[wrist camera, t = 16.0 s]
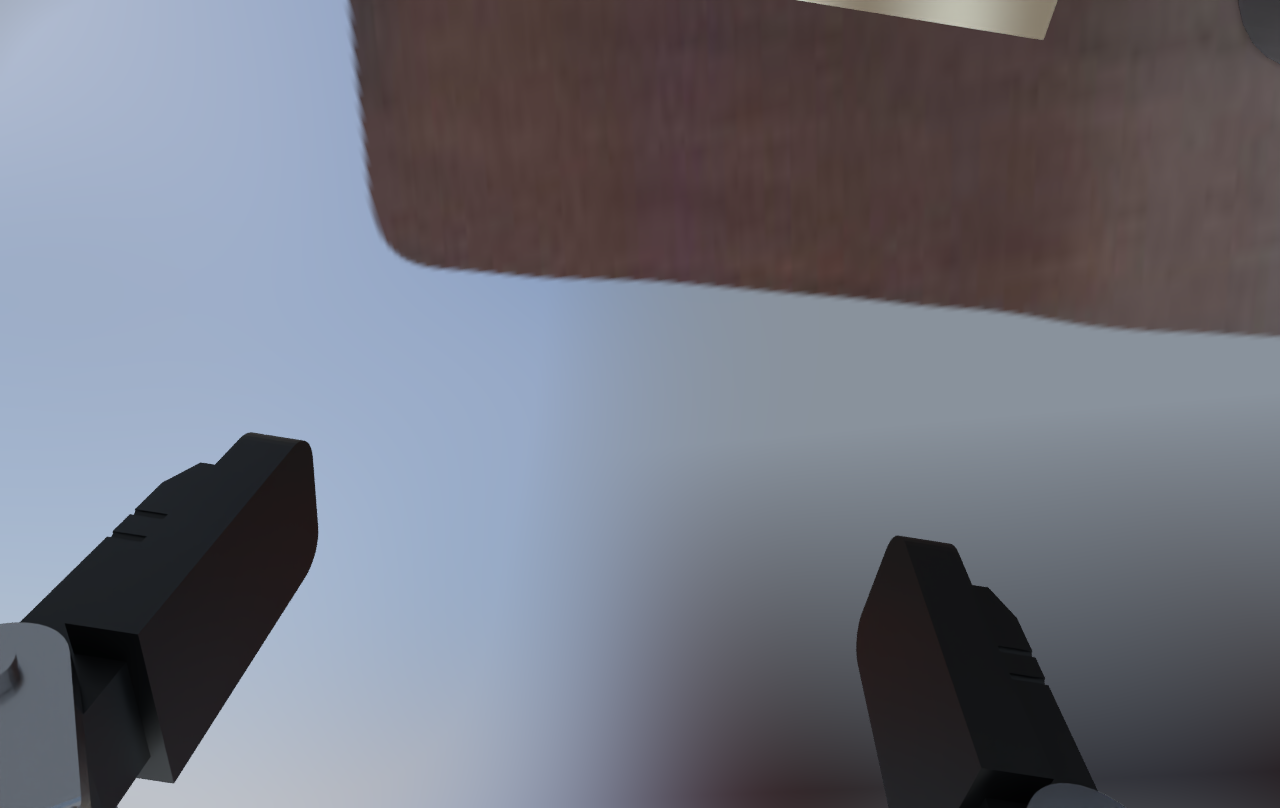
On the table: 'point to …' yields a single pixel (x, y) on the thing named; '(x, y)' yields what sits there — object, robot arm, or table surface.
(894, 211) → the table surface
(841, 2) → the rail board
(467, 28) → the table surface
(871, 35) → the table surface
